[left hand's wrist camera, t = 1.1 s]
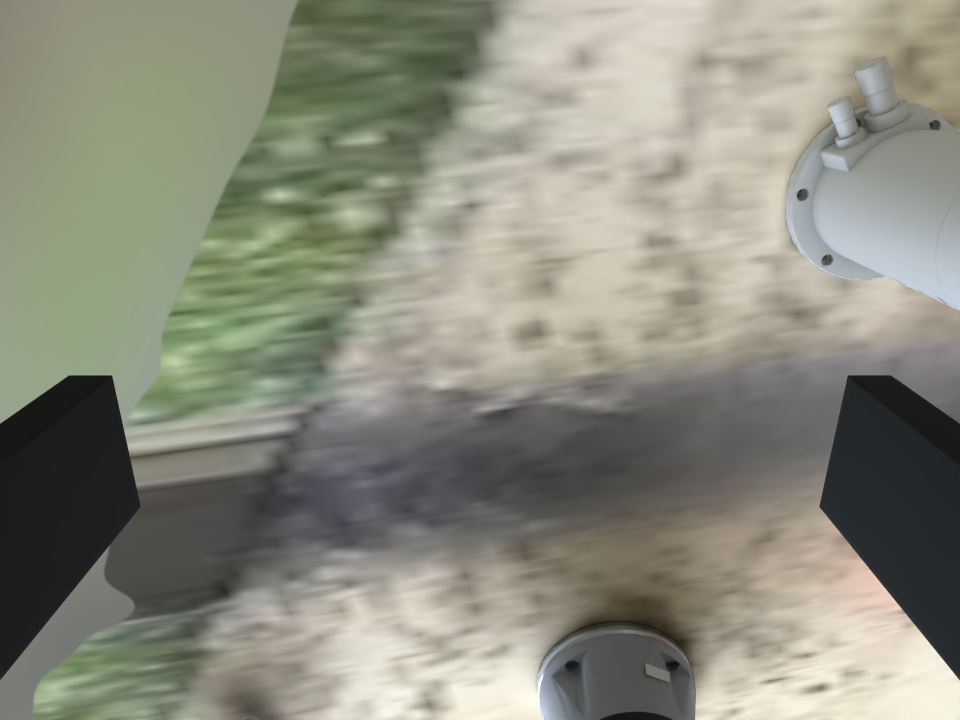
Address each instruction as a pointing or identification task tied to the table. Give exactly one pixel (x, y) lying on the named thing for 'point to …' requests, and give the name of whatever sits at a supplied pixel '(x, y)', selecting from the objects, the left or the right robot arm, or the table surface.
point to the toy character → (251, 718)
